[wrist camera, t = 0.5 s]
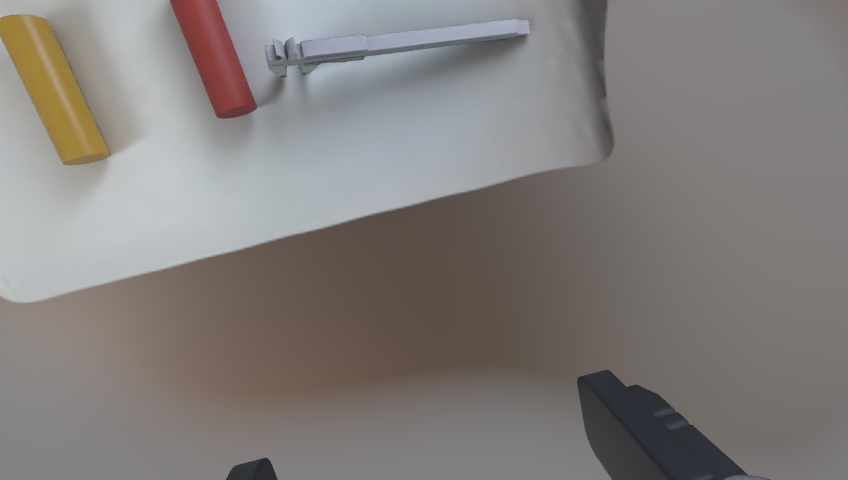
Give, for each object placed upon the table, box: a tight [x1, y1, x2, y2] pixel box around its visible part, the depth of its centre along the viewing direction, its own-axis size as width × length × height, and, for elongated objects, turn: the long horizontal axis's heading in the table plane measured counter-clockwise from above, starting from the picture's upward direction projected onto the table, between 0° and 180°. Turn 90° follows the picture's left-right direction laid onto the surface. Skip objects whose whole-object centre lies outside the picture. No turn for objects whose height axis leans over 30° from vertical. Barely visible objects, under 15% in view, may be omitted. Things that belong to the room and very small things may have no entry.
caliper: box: [265, 19, 530, 78], centre depth 29 cm, size 20×1×6 cm, turn 101°
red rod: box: [170, 0, 257, 119], centre depth 30 cm, size 10×3×3 cm, turn 17°
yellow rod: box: [0, 15, 111, 165], centre depth 30 cm, size 10×3×3 cm, turn 17°
